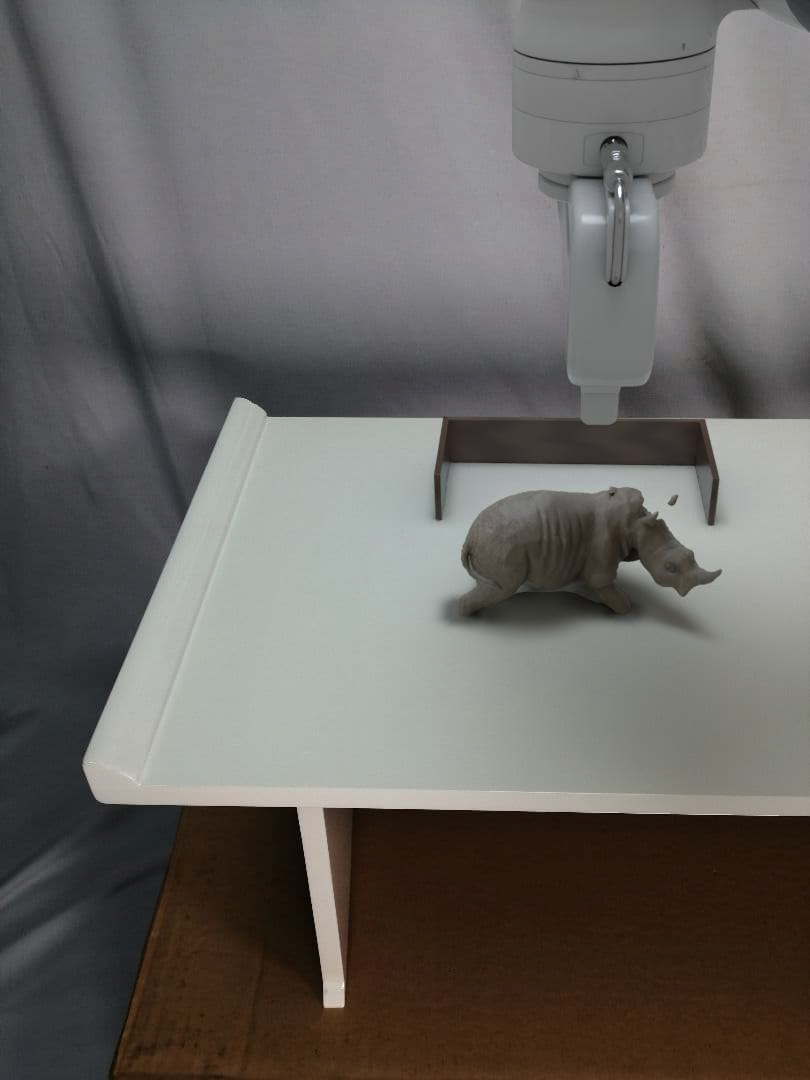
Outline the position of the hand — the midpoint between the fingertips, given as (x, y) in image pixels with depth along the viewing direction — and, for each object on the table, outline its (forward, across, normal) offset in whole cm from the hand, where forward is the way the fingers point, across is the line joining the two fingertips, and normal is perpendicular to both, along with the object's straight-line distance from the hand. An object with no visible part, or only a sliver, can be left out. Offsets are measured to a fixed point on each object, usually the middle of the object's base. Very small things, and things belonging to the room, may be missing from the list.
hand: (595, 389), depth 61 cm
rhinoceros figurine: (+21, +9, 0) cm, 23 cm away
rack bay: (+21, +25, 0) cm, 33 cm away
